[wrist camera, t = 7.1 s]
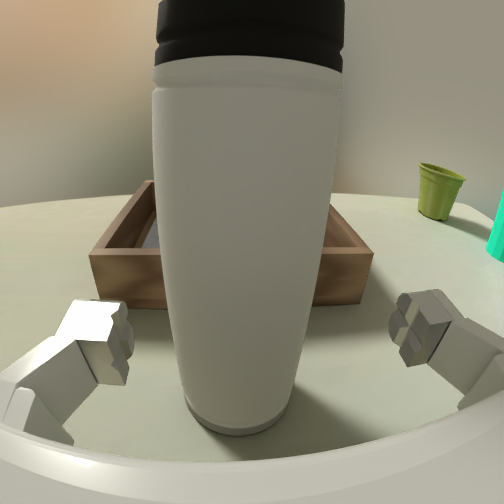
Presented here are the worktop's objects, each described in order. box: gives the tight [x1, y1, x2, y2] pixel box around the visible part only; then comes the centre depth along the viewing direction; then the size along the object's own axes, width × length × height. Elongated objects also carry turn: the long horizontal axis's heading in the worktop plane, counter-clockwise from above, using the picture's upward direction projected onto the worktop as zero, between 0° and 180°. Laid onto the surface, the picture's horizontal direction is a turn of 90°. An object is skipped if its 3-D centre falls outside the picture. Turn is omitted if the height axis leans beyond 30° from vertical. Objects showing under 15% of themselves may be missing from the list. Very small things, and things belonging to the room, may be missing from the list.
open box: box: [89, 180, 374, 309], centre depth 31 cm, size 22×20×5 cm
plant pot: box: [418, 163, 466, 221], centre depth 46 cm, size 9×9×9 cm
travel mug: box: [152, 0, 345, 436], centre depth 12 cm, size 6×7×20 cm
